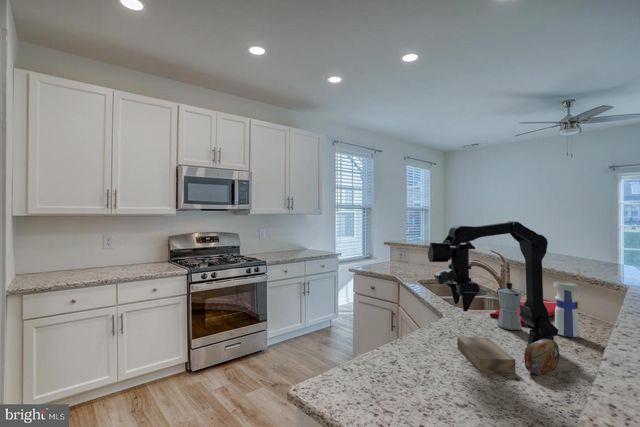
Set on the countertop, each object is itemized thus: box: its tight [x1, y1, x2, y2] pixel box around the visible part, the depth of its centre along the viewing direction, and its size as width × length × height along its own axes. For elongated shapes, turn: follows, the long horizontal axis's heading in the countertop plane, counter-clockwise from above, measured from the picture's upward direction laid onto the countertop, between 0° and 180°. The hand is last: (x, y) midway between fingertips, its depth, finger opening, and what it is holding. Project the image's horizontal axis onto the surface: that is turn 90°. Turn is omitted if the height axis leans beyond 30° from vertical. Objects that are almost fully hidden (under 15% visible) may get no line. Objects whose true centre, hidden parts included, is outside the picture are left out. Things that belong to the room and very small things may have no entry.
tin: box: [523, 339, 560, 376], centre depth 96 cm, size 15×3×8 cm, turn 120°
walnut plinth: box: [456, 336, 516, 374], centre depth 102 cm, size 10×17×4 cm, turn 178°
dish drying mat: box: [489, 299, 557, 326], centre depth 152 cm, size 16×41×4 cm, turn 122°
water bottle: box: [553, 269, 581, 338], centre depth 126 cm, size 8×9×25 cm
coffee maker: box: [496, 282, 523, 331], centre depth 135 cm, size 15×9×18 cm, turn 179°
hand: (460, 307), depth 112 cm, fingers open, 9 cm apart
